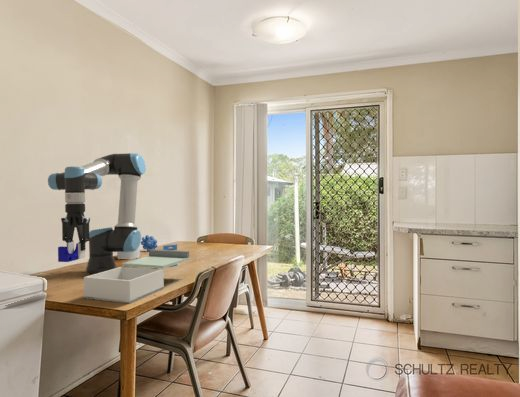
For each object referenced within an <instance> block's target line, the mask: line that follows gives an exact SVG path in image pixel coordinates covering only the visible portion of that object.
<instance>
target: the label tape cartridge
mask: <svg viewBox="0 0 520 397" xmlns="http://www.w3.org/2000/svg"><path fill="white" fill-rule="evenodd" d="M162 248H163V249H162V250H173V251H178V243H177V244H169V245H168V244H167V245H163V246H162ZM176 266H178V264H176V265H173V266H172V267H176Z"/></svg>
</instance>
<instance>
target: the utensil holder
mask: <svg viewBox="0 0 520 397" xmlns="http://www.w3.org/2000/svg"><path fill="white" fill-rule="evenodd" d="M137 230H138V231H140V230H139V229H137ZM116 254H117V255H116V256H117V260H120V259H131V260H136V258H137V259H140V256H141V255H140V254H141V244H140V245H139V247H138V248H137V250H135V251H133V252H116Z"/></svg>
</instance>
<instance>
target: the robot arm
mask: <svg viewBox="0 0 520 397" xmlns="http://www.w3.org/2000/svg"><path fill="white" fill-rule="evenodd" d="M146 169H147V168H146V161H145V159H144V158H143V156H142V154H140V153H134V152H131V153H111V154H108V155H104V156H102V157H98V158H96V159H94V161H92V162H91V163H90V162H89V163H86V164H85V165H82V166H81V165H80V166H66V167H65V168H64V172H60V173H59V172H56V173H50V174H49V175H48V177H47V184H48V187H49V188H50V189H51V190H53V191H54V190H56V191H63V190H64V200H65V205H64V212H65V213H67V214H66V216H65V217H61V218H60V220H61V226H62V227H61V231H62V234H61V236H62V237H61V238H62V242H65V243H66V247H67V250H68V252H69V254H72V253H73V252H74V251H75V241H74V240H73V239H74V235H75V229H76V233H77V237H78V242H77V243H78V260H80V259H85V257H86V254H85V251H86V243H87V242H88V247H89V248H88V250H89V255H88V256H89V259H88V261H87V265H86V267H85V273H86V274H89V273H91V275H94V274H97V273H101V272H104V271H108V270H111V269H115V268H117V264H116V261H115V258H114V255H113V254H114V253H117V252H133V251H135V250H137V248H138V247H139V245H140V246H141V241H142V234H141V230H139V229H138V226H136V224H135V223H136V222H135V221H136V209H137V207H136V206H137V193H138V181H140V180H141V179H142V178H141V177H142V176H143V175H144V174H145V172H146ZM107 175H108V176H109V175H114V176H116V175H118V176H117V177H118V178H119V180H120V189H119V200H118V201H119V203H118V204H119V205H118V214H117V215H118V216H117V224H115V225H114V229H113V227H111V226H110V227H103V228H97V229H92V230H90V221H91V218H90V217H86V215H85V212H86V204H85V202H86V193H85V192H86V190H91V191H92V190H99V189H100V188H101V186H102V184H103V178H102V177H105V176H107ZM138 230H139V231H138Z"/></svg>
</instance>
